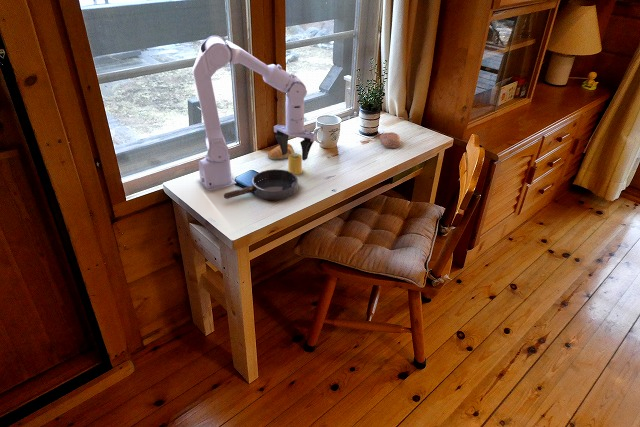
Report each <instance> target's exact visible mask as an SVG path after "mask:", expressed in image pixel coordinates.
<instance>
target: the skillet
mask: <svg viewBox="0 0 640 427" xmlns="http://www.w3.org/2000/svg"><path fill="white" fill-rule="evenodd" d="M265 178H266V179H265ZM262 179H263V180H262ZM260 180H261V181H260ZM258 181H259V182H258ZM255 183H256V184H255ZM251 186H255V188H256V191H254V192H252V193H253V194H254V195H255V196H256V197H257V198H260V199H262V200H265V201H275V202H277V201H283V200H288V199H290V198H291V197H294V196H295V195H296V194H297V193H298V189H299V179H298V176H297V175H294V174H293V173H291V172H289V171H288V170H284V169H277V168H276V169H275V168H274V169H266V170H263V171H260V172H258V173H256V174H255V175H253V177H252V180H251Z"/></svg>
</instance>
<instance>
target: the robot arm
mask: <svg viewBox="0 0 640 427" xmlns="http://www.w3.org/2000/svg"><path fill="white" fill-rule="evenodd" d="M228 64H230V66H234V65H237V64H240V65H243V66H244V67H246V68H248V69H249V70H252V71H253V72H255V73H257V74H259V75H261V76H262V80H263V82H264V83H265V84H268V85H269V86H271V87H272V88H274V89H276V90H278V91H280V93H285V103H284V104H285V125H284V124H283V125H282V124H281V125H280V124H276V125H274V126H273V132H274V133H276V134H275V135H274V137H275V140H276V141H277V143H278V146H280V148H281V151H282V155H285V154H286V153H287V152H288V144H289V143H288V142H289V137H294V138H295V137H296V138H301V139H303V140H301V141H300V142H299V144H300V147H301V156H302V161H307V159H308V157H309V153H310V150H311V148H312V145H313V144H314V142H315V141H316V140H317V134H316V133H314V132H311V131H309V130H307V129H305V97H306V96H307V93H308V90H307V87H306V85H305V84H304V82H303V81H302V80H301V79H300V78H299V77H298V76H297V75H295V73H294V74H293V73H291V74H290V73H289V72H288V71H287V70H284V69H283V67H282V66H281V65H280V64H279V63H278V64H274V63H271V64H266V63H265V62H263V61H261V60H260V59H258V58H257V57H255V56H254V55H252V54H251V53H249V52H248V51H246V50H245V49H243V47H240V46H239V45H237V44H235V43H233V42H232V41H229V40H225V39H223V37H221V36H219V35H211V36H208V37H207V38H206V39H205V40H204V41H203V42H202V43H201V44H200V47H199V51H198V53H197V55H196V59H195V61H194V64H193V67H192V74H193V79H194V84H195V88H196V93H197V97H198V102H199V106H200V110H201V111H200V112H201V116H202V120H203V124H204V130H205V138H204V145H205V146H206V150H207V153H206V154H205V157H204V158H202V159H200V160H199V161H198V171H199V181H200V183H201V184H202V185H203V187H205V189H206V190H207V191H212V190H217V189H221V188H225V187H229V186H233V185H237V182H236V180H235V179H234V178H233V176H232V168H231V158H230V155H231V154H230V148H229V147H228V145H227V142H226V137H225V135H224V134H223V131H222V127H221V122H220V116H219V112H218V107H217V106H218V105H217V102H216V97H215V92H214V91H215V90H214V86H213V81H212V77H213V76H214V74H215V73H216V72H217V71H219V70H220V69H222V68H223V67H225V66H227V65H228Z"/></svg>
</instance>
